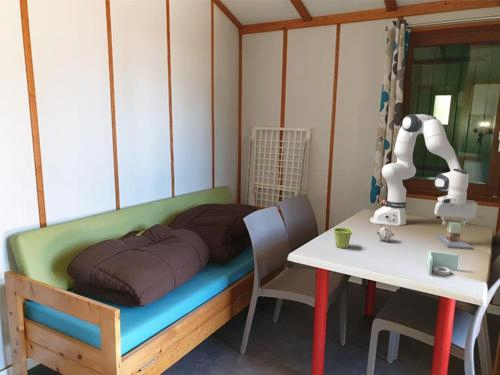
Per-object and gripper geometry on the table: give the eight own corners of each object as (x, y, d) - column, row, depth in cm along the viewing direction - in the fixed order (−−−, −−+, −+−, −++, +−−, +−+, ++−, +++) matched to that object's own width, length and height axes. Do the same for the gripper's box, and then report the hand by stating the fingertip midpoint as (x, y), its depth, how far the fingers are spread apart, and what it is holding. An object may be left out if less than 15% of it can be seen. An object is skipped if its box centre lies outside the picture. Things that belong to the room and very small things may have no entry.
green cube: (450, 232, 203) (451, 223, 202) (447, 230, 208) (447, 221, 207) (460, 233, 202) (461, 224, 201) (456, 230, 207) (457, 221, 206)
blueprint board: (447, 248, 197) (447, 245, 197) (434, 237, 216) (434, 234, 216) (472, 249, 195) (472, 247, 195) (457, 238, 215) (457, 236, 215)
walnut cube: (449, 241, 204) (450, 232, 203) (446, 239, 208) (447, 230, 208) (459, 242, 203) (460, 233, 202) (455, 239, 208) (456, 230, 207)
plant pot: (339, 242, 202) (340, 226, 201) (355, 246, 195) (356, 230, 194) (329, 246, 195) (329, 229, 194) (345, 250, 189) (346, 233, 187)
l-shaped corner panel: (428, 276, 159) (430, 259, 158) (426, 266, 170) (428, 250, 169) (461, 280, 155) (463, 263, 154) (456, 270, 166) (458, 254, 165)
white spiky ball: (386, 247, 209) (397, 232, 208) (387, 245, 201) (398, 230, 201) (372, 236, 212) (383, 222, 212) (372, 235, 204) (384, 220, 204)
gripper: (475, 199, 205) (471, 224, 207) (434, 197, 207) (431, 222, 210) (480, 202, 198) (476, 227, 201) (438, 199, 201) (435, 225, 204)
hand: (453, 224), depth 205 cm, fingers open, 8 cm apart
